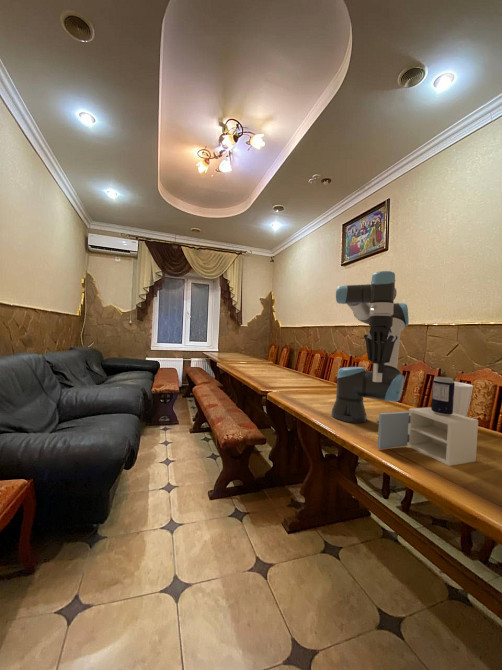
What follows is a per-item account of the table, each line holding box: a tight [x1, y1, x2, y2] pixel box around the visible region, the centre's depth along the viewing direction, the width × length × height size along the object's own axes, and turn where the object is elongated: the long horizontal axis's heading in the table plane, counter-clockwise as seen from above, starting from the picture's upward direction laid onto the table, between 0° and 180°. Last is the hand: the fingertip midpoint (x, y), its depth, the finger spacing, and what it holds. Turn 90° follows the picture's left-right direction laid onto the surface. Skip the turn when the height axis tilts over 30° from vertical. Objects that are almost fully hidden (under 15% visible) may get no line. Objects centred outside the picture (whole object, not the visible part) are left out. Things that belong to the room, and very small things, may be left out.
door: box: [375, 411, 411, 450], centre depth 87 cm, size 2×13×12 cm, turn 109°
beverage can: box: [431, 376, 455, 416], centre depth 85 cm, size 6×6×12 cm
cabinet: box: [406, 406, 479, 467], centre depth 85 cm, size 14×12×13 cm
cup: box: [453, 381, 474, 417], centre depth 97 cm, size 12×12×22 cm
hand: (377, 381), depth 92 cm, fingers closed
